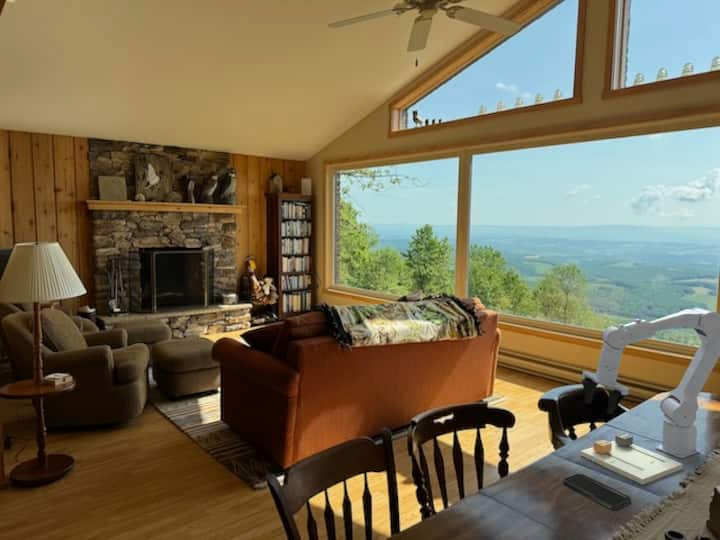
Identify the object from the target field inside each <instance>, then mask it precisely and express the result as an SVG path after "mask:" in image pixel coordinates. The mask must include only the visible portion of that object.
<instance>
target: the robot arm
mask: <svg viewBox="0 0 720 540" xmlns="http://www.w3.org/2000/svg"><path fill="white" fill-rule="evenodd" d="M679 327H686V328H691V329H693V331H695V332H696V334H697V336H698V338H699V340H700V342H701V343H700V345H699V347H698V349H697V350H696V353H695V354H694V356H693V357H692V360H691V362H690V364H689V365H688V367H687V369H686V371H685V373H684V374H683V377H682V379H681V380H680V383H679V384H678V386H677V387H676V388H675V389H672V390H671V391H669V394H668V395H666V397H664V398H663V399H662V400H661V401H660V405H659V408H660V410H661V412H662V413H663V418H662V420H663V421H662V437H661V438H662V440H661V444H659V445H656V446H654V448H655V449H656V450H659V451H661V452H664V453H667V454H669V455H672V456H673V457H677V458H679V459H685V458H687V457H689V456H692V455H695V454H697V453H700V450H699V449H698V448H697V442H698V441H697V439H698V429H697V427H696V425H695V424H694V423H695V422H696V419H697V412H698V409H699V402H698V396H699V395H700V393H701V391H702V389H703V387H704V386H705V384H706V382H707V380H708V378H709V377H710V374H711V373H712V371H713V369H714V367H715V365H716V363H717V361H718V360H719V358H720V313H718V312H716V311H711V310H709V309H705V308H703V307H699V306H698V307H693V308H691V309H690V308H687V309H683V310H681V311H678V312H675V313H672V314H669V315H665V316H663V317H660V318H657V319H654V320H651V321H648V320H645V318H644V319H640V318H635V319H634V321H632V322H628V323H625V324H622V323H620V324H618V326H617V327H616V326H608V327H606V328H605V329H604V330H603V332H602V333H601V339H602V341H603V342H602V346H601V350H600V354H599V358H598V359H599V360H598V364H597V369H596V371H595V373H593V372H589V371H584V370H583V371H582V375H581V378H582V379H581V384H582V387H583V391H584V403H585V404H587V405H588V404H592V402H593V398H594V395H595V392H596V389H597V386H598V384H599V385H601V386H604V387H606V388H608V389H611V390H609V391H608V403H607V404H608V405H607V408H606V414H608V415H613V414H614V412H615V410H616V409H617V407H618V405H619V404H620V403H621V402H622V401H623V399H624V398H626V396H628V395H629V392H630V388H629V387H626V386H625V385H622V384H620V383H619V382H617V378H618V373H619V369H620V364H621V360H622V356H623V350H624V348H626V347H627V346H628V345H629V344H633V343H637V342H640V341H643V340H647V339H651V338H652V337H653V335H654V334H655V333H657V332H661V331H666V330H671V329H675V328H679Z"/></svg>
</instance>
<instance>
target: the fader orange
mask: <svg viewBox="0 0 720 540" xmlns="http://www.w3.org/2000/svg"><path fill="white" fill-rule="evenodd" d="M610 442H611V441H608V440H605V439H600V440H596V441H594V442H593V447H594V448H593V450H594V451H597V452H599V453H601V454H604V453H607V452H610V451H611V449H612V443H610Z"/></svg>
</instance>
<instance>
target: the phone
mask: <svg viewBox="0 0 720 540" xmlns="http://www.w3.org/2000/svg"><path fill="white" fill-rule="evenodd" d="M562 484H564V485H565V486H567V487H568V488H570V489H572V490H574V491H576V492H578V493H580V494H582V495H583V496H585V497H587V498H589V499H591V500H593V501H595V502H596V503H598V504H599V505H600V504H601V505H603V506H604V507H606V508H608V509H610V510H618V509H620V508H622V507H624V506H626V505H629V504H631V503H632V499H631V497H630V496H628V495H626V494H624V493H622V492H620V491H618V490H617V489H614V488H612V487H610V486H608V485H606V484H604V483H602V482H599V481H598V480H595V479H594V478H591V477H589V476H587V475H585V474H583V473H576V474H574V475H571V476H568V477H565V478H563V479H562Z"/></svg>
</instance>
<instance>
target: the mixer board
mask: <svg viewBox="0 0 720 540" xmlns="http://www.w3.org/2000/svg"><path fill="white" fill-rule="evenodd" d="M609 442H610V443H612V449H611V451H610V452H607V453H604V454H601V453H599V452H597V451H594V450H593V448H594V446H592V447H589V448H585V449H583V450H580V457H582V456H583V458H584V457H585V459H587V460H588V461H589V460H590V461H591V460H592V461H591V462H593V461H594V463H595V462H596V464H597V465H600V466H601V465H602V467H603V468H606V469H608V470H610V471H612V472H615V473H616V474H618V475H620V476H624V477H625V478H628V479H629V480H632V481H634V482H635V483H639V484H640V485H645V484H648V483H650V482H652V481H656V480H658V479H660V478H664V477H666V476H669V475H671V474H673V473H675V472H676V473H677V472H678V471H681V470H683V463H680V461H679V462H678V461H676V460H673V459H670V458H668V457H666V456H664V455H661V454H658V453H656V452H654V451H651V450H649V449H646V448H644V447H641V446H638V445H636V444H634V443H633V444H632V445H629V446H626V447H623V446H621V445H618V444H616V443H615V439H614V440H611V441H609Z"/></svg>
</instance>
